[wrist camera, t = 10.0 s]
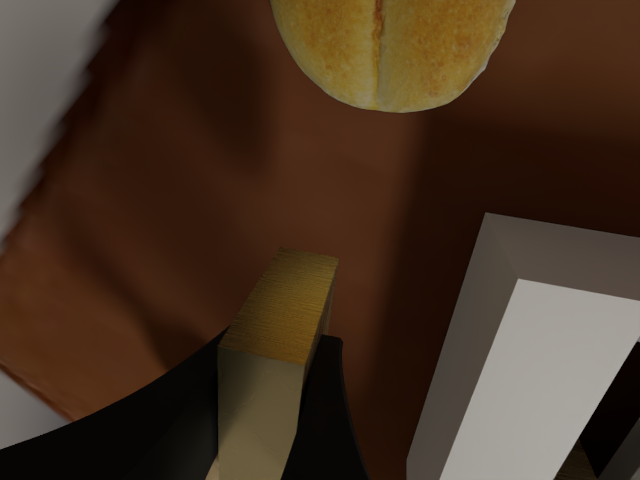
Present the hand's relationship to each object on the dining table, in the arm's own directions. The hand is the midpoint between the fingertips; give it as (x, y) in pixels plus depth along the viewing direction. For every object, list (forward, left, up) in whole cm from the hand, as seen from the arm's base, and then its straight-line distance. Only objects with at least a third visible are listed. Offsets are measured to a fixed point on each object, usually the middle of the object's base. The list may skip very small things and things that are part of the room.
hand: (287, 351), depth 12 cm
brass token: (0, 0, -2) cm, 2 cm away
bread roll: (+11, -1, -9) cm, 14 cm away
